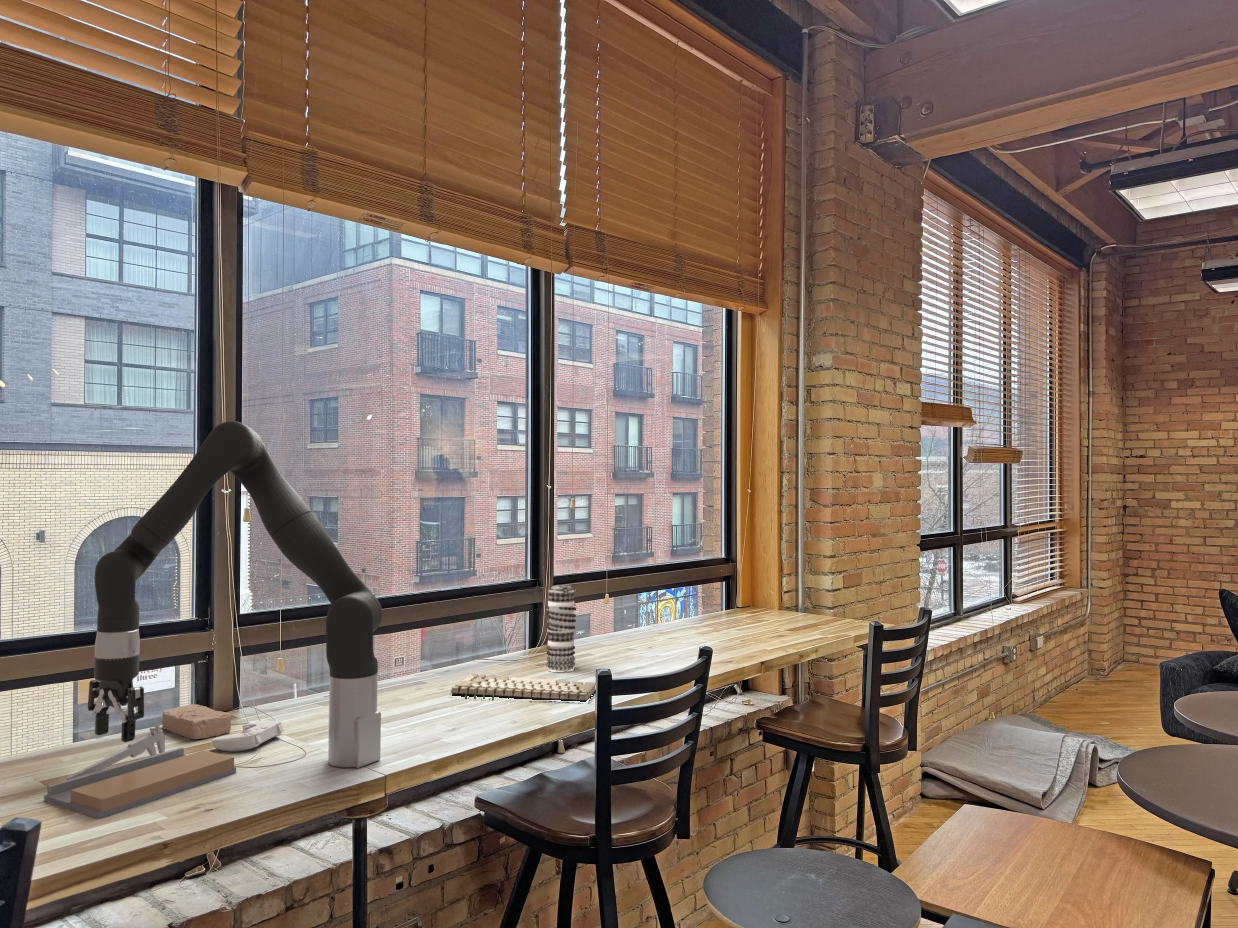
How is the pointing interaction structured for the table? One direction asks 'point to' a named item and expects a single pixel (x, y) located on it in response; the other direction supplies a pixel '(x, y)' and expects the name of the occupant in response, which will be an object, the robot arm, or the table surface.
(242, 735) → the game controller
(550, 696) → the mechanical keyboard
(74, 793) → the plank board
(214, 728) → the brick
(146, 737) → the caliper
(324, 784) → the table surface
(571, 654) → the decorative candle
